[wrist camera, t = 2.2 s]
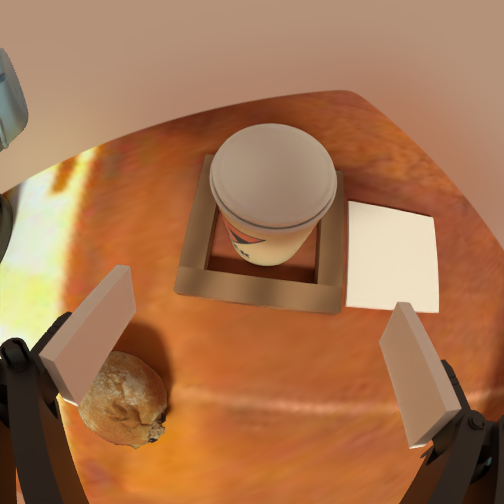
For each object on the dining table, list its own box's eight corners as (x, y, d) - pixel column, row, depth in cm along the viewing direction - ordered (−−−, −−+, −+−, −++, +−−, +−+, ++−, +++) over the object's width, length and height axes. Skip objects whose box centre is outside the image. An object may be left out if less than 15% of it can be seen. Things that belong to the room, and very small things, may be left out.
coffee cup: (211, 209, 32) (193, 139, 20) (288, 184, 33) (304, 110, 22) (240, 287, 29) (234, 248, 18) (323, 256, 30) (362, 202, 19)
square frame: (178, 294, 29) (173, 290, 27) (207, 163, 34) (205, 154, 32) (334, 314, 28) (340, 312, 26) (338, 180, 33) (343, 171, 31)
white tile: (344, 306, 28) (346, 305, 28) (347, 203, 32) (348, 200, 32) (435, 313, 28) (438, 312, 27) (430, 219, 32) (433, 217, 31)
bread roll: (162, 352, 30) (124, 319, 24) (193, 434, 24) (153, 422, 18) (97, 382, 29) (53, 356, 23) (117, 459, 22) (66, 450, 16)
